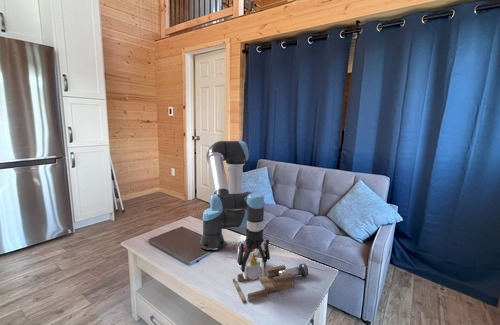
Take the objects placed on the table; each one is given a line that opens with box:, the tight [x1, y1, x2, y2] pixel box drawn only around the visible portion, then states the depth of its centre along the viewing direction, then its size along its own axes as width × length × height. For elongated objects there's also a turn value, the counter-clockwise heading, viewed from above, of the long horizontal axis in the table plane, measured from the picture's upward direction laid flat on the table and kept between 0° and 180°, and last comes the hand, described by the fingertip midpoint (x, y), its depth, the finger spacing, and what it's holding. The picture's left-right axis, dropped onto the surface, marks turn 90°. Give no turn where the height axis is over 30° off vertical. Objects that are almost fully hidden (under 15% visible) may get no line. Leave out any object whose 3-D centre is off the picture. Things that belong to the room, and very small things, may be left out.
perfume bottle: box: [247, 249, 265, 280], centre depth 109 cm, size 8×10×12 cm
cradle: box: [232, 264, 295, 304], centre depth 111 cm, size 15×26×5 cm, turn 111°
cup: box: [237, 244, 258, 269], centre depth 126 cm, size 10×10×10 cm
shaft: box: [277, 262, 309, 278], centre depth 117 cm, size 6×15×6 cm, turn 111°
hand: (253, 275), depth 109 cm, fingers closed on perfume bottle, 8 cm apart
